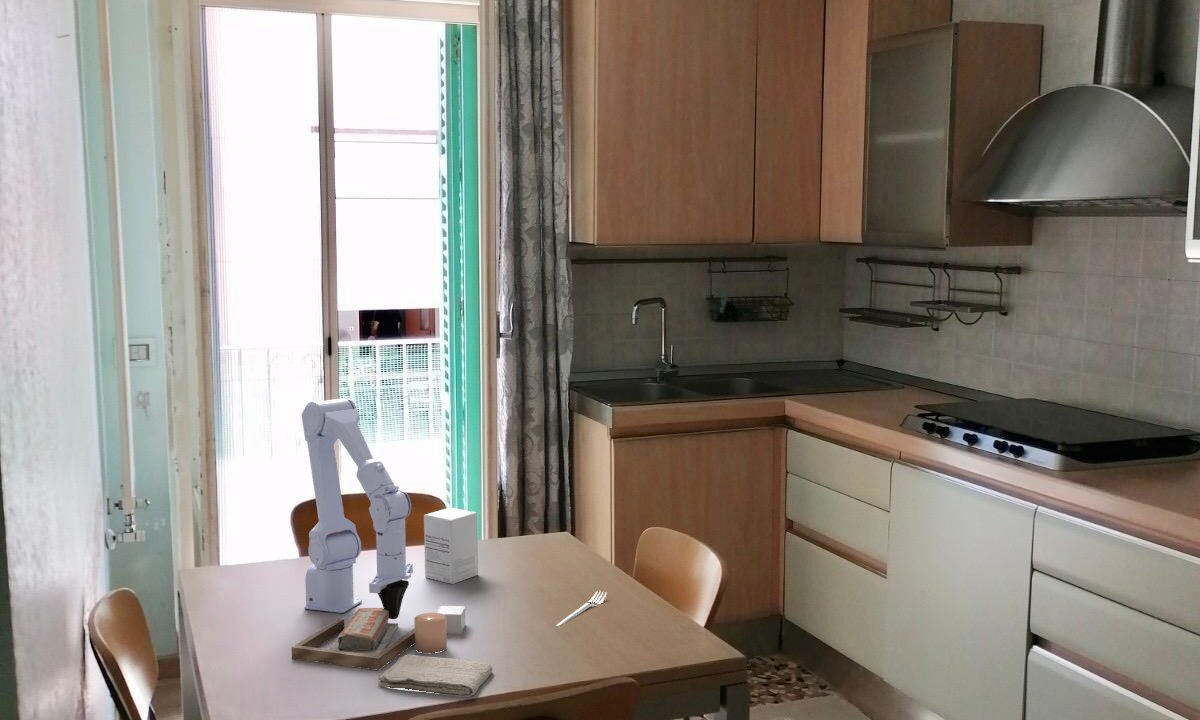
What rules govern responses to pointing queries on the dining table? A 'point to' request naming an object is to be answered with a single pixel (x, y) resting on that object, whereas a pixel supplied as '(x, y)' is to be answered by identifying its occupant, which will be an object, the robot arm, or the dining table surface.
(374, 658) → the open wooden frame
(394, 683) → the washcloth
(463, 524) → the supplement box
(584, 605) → the fork
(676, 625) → the dining table surface
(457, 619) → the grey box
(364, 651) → the packaged product
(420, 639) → the peach pillar candle
